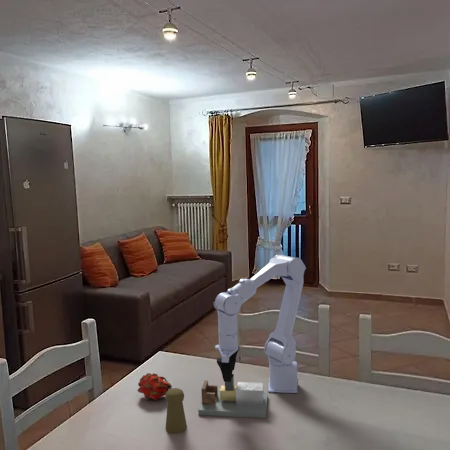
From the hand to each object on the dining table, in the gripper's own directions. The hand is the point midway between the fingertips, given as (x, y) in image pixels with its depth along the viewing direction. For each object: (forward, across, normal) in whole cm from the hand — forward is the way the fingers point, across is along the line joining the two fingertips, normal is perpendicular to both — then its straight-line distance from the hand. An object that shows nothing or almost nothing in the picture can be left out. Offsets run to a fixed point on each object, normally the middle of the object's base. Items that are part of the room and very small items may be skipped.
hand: (229, 375), depth 132 cm
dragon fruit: (+10, -3, -25) cm, 27 cm away
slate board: (+10, 0, +1) cm, 10 cm away
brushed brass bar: (+8, 0, +3) cm, 9 cm away
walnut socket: (+8, 0, -6) cm, 10 cm away
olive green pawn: (+10, +13, -14) cm, 21 cm away
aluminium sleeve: (+8, 0, +6) cm, 10 cm away
